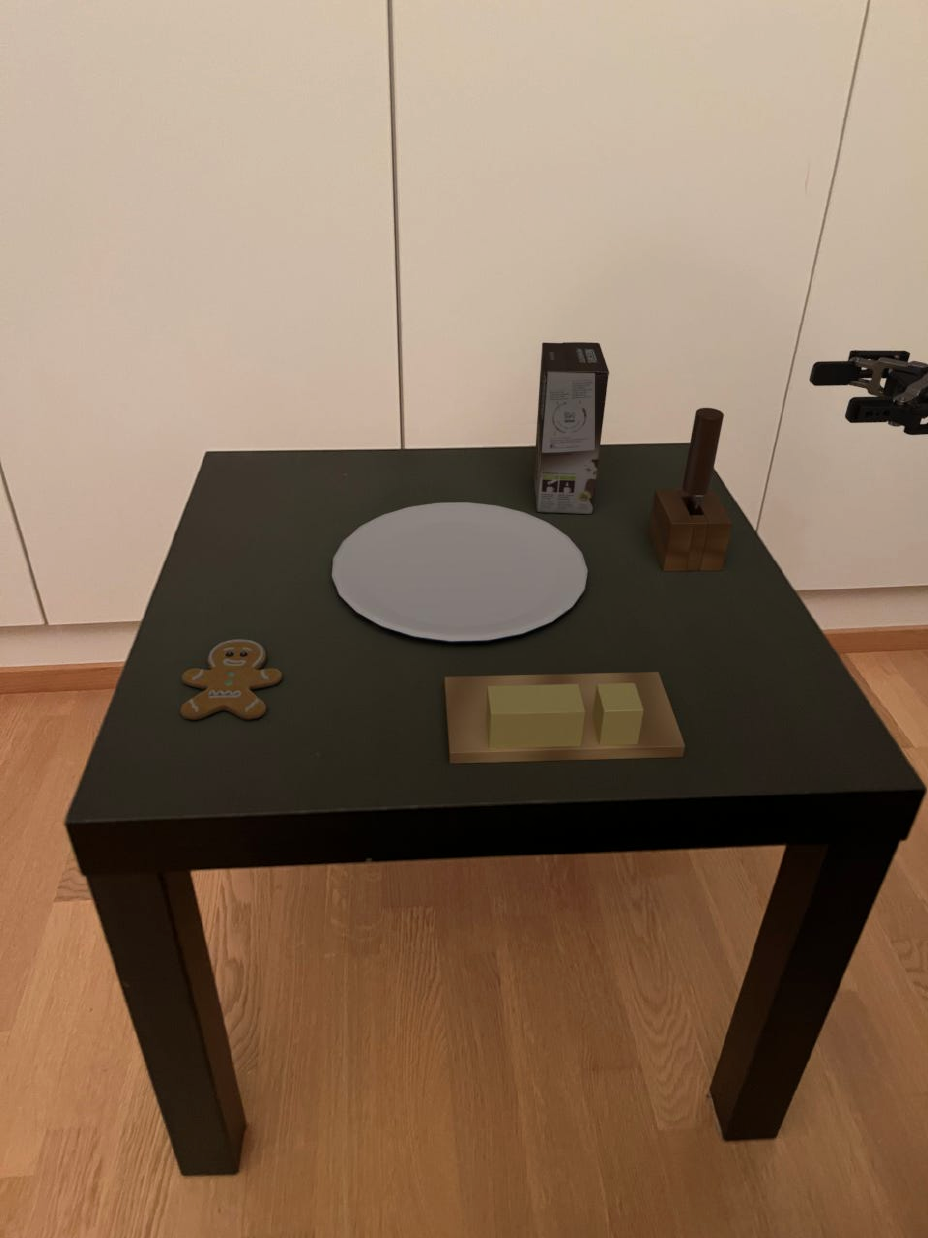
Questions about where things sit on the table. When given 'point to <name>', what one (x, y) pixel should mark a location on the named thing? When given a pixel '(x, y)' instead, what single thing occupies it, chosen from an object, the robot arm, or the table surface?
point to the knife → (702, 455)
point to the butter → (534, 716)
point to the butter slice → (617, 713)
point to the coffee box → (569, 426)
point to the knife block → (689, 531)
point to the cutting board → (654, 738)
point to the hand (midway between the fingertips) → (829, 391)
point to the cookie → (230, 681)
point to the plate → (459, 572)
